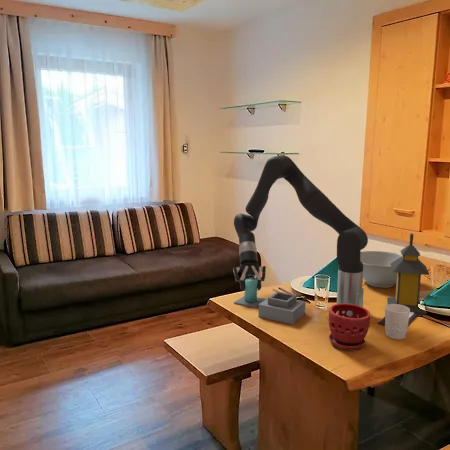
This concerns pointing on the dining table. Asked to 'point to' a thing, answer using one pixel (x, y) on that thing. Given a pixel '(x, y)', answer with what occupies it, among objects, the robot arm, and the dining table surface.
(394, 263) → the lantern
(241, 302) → the mat
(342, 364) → the dining table surface
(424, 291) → the dining table surface
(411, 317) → the chocolate bar
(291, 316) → the gray socket block
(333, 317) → the plant pot
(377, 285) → the decorative bowl
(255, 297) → the teal cylindrical peg
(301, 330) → the dining table surface
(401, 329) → the white cup
